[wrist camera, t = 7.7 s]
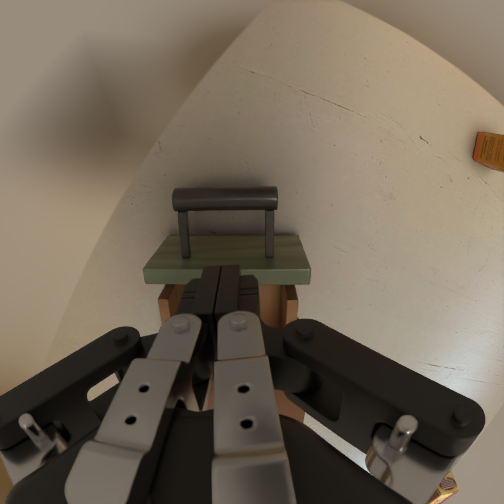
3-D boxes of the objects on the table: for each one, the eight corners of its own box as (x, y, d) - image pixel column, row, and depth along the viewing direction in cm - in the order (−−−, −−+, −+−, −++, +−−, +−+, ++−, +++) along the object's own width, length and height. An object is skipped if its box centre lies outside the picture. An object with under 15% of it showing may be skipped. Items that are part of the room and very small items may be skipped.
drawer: (162, 179, 25) (133, 196, 19) (300, 176, 25) (315, 193, 19) (183, 356, 32) (170, 402, 26) (291, 357, 32) (297, 405, 26)
